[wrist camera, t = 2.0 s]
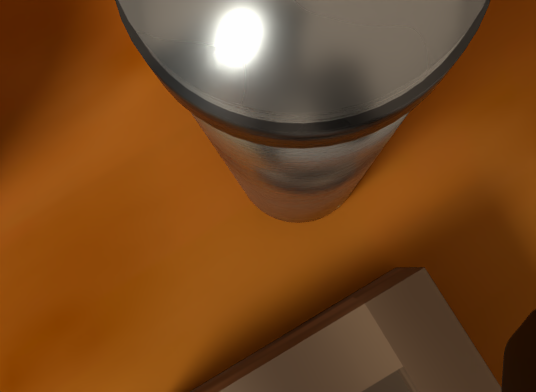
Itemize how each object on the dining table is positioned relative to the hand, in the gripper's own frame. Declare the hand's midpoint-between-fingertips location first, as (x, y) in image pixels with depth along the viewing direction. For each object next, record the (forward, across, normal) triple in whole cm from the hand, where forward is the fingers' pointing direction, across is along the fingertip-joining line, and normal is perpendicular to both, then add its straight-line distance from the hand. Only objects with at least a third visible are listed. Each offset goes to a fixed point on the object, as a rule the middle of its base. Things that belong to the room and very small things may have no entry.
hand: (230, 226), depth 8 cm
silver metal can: (+10, 0, +5) cm, 11 cm away
